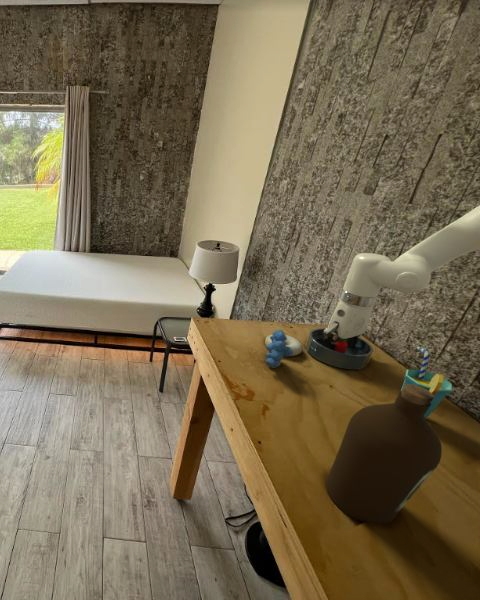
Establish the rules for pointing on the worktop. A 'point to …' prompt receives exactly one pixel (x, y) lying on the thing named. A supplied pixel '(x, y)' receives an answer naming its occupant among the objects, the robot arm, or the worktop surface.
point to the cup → (428, 382)
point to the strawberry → (341, 345)
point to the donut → (288, 344)
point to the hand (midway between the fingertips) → (337, 349)
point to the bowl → (346, 360)
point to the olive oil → (384, 457)
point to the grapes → (277, 349)
